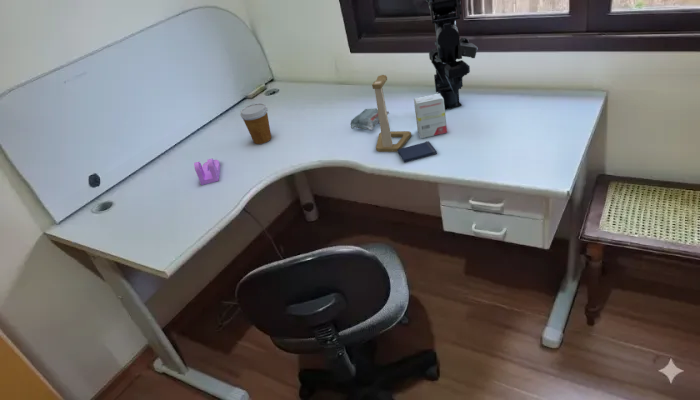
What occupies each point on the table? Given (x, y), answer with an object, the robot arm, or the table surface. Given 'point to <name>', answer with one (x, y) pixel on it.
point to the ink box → (430, 115)
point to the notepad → (417, 151)
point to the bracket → (205, 174)
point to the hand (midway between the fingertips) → (450, 88)
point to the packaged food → (366, 119)
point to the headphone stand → (386, 122)
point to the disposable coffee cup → (257, 122)
